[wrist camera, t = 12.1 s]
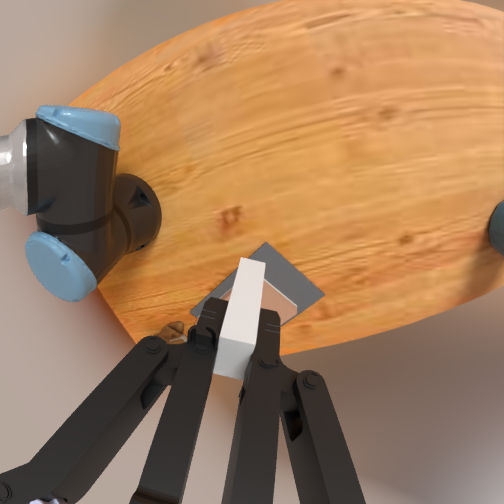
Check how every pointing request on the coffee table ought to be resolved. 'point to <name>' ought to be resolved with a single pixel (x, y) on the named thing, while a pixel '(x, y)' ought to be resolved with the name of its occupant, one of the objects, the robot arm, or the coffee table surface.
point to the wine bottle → (497, 229)
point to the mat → (274, 281)
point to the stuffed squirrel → (173, 333)
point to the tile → (271, 302)
